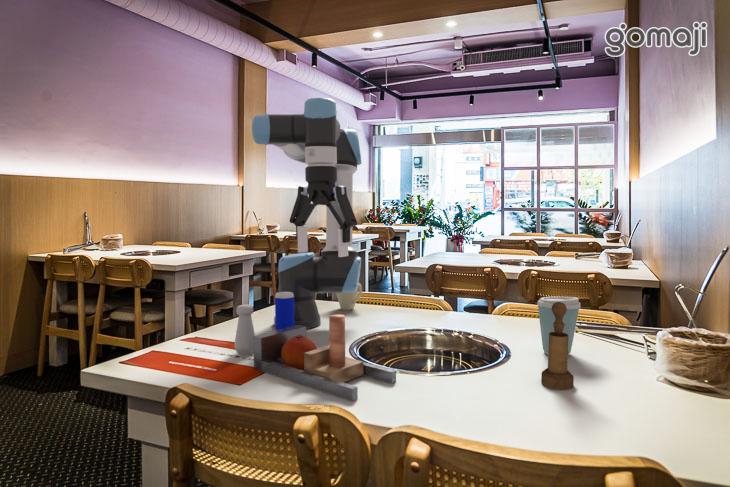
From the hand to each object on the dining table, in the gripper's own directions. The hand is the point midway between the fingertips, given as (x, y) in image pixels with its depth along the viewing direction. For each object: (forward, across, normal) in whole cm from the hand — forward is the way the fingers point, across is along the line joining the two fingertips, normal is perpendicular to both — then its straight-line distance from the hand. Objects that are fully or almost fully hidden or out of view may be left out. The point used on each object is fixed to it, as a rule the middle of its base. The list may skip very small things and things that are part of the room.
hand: (322, 254), depth 122 cm
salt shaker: (+28, -21, -8) cm, 35 cm away
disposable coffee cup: (+28, +43, +43) cm, 67 cm away
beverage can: (+28, -18, +3) cm, 33 cm away
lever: (+26, +10, -7) cm, 29 cm away
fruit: (+27, -1, -7) cm, 28 cm away
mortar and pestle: (+27, +50, +20) cm, 61 cm away
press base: (+27, +6, -7) cm, 28 cm away
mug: (+29, -37, +53) cm, 71 cm away
